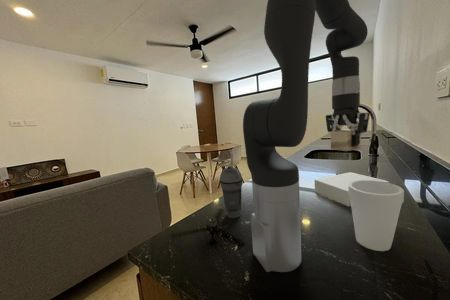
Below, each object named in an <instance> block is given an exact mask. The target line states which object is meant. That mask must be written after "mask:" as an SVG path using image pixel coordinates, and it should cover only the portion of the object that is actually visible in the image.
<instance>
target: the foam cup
mask: <svg viewBox="0 0 450 300" xmlns="http://www.w3.org/2000/svg"><path fill="white" fill-rule="evenodd" d="M348 194H349V197H350V201H351V206H350V207H351V213H352V215H351V216H352V219H353V220H352V221H353V228H354V235H355V240H356V242H357V243H358V244H359V245H360V246H362V247H364V248H366V249H369V250H372V251H377V252H385V251H389V250H390V249H391V248H392V245H393V241H394V236H395V233H396V230H397V224H398V220H399V217H400V212H401V208H402V204H404V203H405V202H404V199H405V190H404V189H403V188H402V187H401V186H399V185H396V184H394V183H390V182H389V183H386V182H382V181H373V180H358V181H352V182H350V183H348Z"/></svg>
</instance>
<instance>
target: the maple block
mask: <svg viewBox="0 0 450 300" xmlns="http://www.w3.org/2000/svg"><path fill="white" fill-rule="evenodd" d="M351 135H352V133H351V131H350V129H341V130H337V131H331V132H330V149H331V150H335V151H336V150H337V151H341V152H342V151H343V152H348V151H349V152H350V151H353V150H354V151H355V150H361V149H362V133H361V134H360V143H359V145H358V146H356V147H352V146H351Z"/></svg>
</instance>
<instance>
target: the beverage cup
mask: <svg viewBox="0 0 450 300" xmlns="http://www.w3.org/2000/svg"><path fill="white" fill-rule="evenodd" d="M233 157H234V156H233V153H230V166H228V167H226V168H224V169H223V170H222V171H221V172H220V175H219V176H220V177H219V184H220V187H221V190H222V196H223V201H224V208H225V212H226V216H227V217H228V218H231V219H236V218H239V217H241V215H242V186H243V181H244V180H243V176H242V173H241V171H240V170H239V169H238V168H236V167H235V166H233Z"/></svg>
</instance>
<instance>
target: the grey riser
mask: <svg viewBox="0 0 450 300" xmlns="http://www.w3.org/2000/svg"><path fill="white" fill-rule="evenodd" d="M358 180H373V181H382V182H386V183H390V181H388V180H384V179H382V178H377V177H376V178H375V177H372V176H368V175H363V174H359V173H356V172H351V171H349V172H343V173H340V174H335V175H331V176H330V175H329V176H327V177H325V176H324V177H322V178H321V177H320V178H316V179H314V193H316V192H317V194H318V193H319V194H318V195H320V194H321V196H323V197H325V196H326V198H327V197H328V198H327V199H329V200H332V201H334V200H335V201H334V202H337V203H338V204H341V205H343V206H347V207H351V201H350V197H349V194H348V183H350V182H352V181H358Z"/></svg>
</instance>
